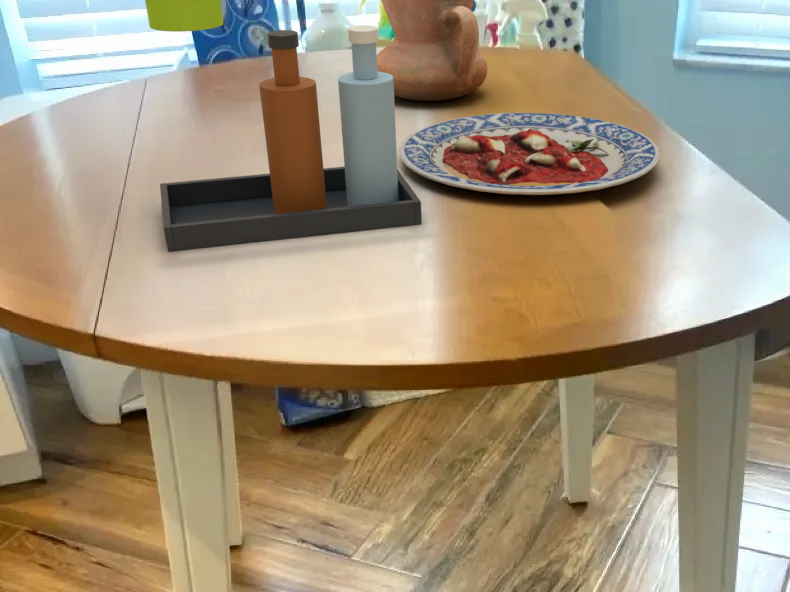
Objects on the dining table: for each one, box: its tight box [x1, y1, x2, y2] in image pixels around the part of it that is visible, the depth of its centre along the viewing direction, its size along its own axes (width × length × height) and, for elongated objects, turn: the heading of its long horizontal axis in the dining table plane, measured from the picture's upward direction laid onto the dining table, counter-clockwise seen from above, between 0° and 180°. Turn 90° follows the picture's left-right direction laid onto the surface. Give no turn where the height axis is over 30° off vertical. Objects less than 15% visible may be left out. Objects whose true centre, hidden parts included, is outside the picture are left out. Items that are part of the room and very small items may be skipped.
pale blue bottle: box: [337, 24, 399, 206], centre depth 82 cm, size 5×5×15 cm
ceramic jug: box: [376, 0, 488, 102], centre depth 117 cm, size 18×14×14 cm
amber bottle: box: [258, 29, 327, 214], centre depth 80 cm, size 5×5×15 cm
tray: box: [159, 166, 422, 253], centre depth 84 cm, size 21×11×3 cm, turn 106°
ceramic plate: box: [398, 112, 661, 196], centre depth 96 cm, size 26×26×3 cm
